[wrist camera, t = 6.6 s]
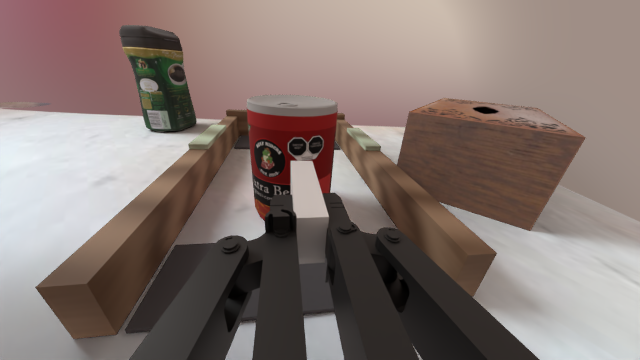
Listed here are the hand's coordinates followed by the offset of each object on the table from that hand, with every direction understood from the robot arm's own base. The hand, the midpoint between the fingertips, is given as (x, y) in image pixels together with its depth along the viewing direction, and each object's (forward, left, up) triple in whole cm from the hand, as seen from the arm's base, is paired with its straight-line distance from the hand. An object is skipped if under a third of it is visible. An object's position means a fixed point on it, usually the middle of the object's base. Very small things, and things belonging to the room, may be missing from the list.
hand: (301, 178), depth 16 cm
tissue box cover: (+15, -27, -7) cm, 32 cm away
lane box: (+14, 0, -6) cm, 16 cm away
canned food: (+6, 0, -7) cm, 9 cm away
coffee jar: (+39, +25, -7) cm, 47 cm away
